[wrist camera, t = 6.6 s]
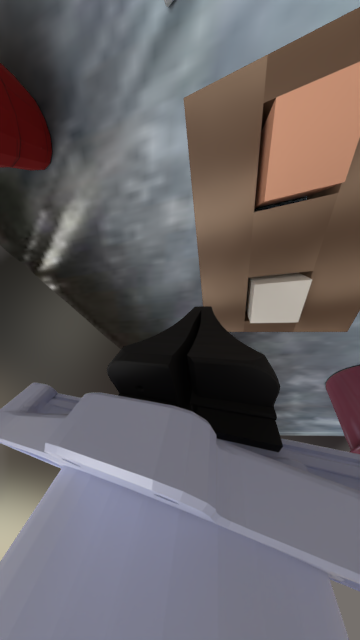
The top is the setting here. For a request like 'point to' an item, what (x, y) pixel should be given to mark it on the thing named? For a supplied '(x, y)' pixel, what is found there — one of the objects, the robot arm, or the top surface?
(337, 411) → the plant pot
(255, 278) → the cream key
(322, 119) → the terracotta key
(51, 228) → the top surface
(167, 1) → the skincare box
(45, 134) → the plastic cup
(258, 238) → the walnut panel
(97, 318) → the top surface
